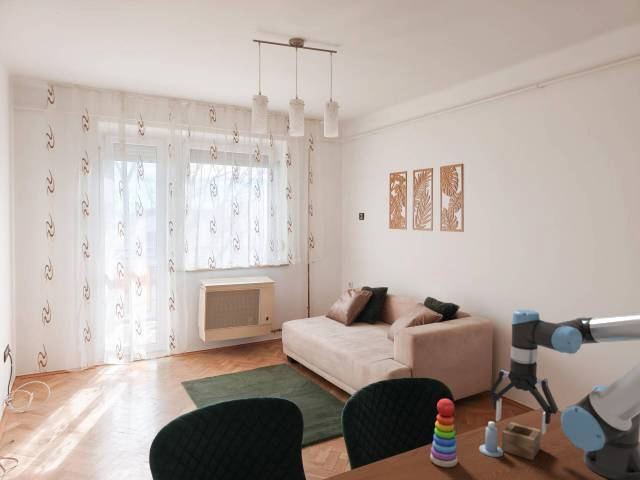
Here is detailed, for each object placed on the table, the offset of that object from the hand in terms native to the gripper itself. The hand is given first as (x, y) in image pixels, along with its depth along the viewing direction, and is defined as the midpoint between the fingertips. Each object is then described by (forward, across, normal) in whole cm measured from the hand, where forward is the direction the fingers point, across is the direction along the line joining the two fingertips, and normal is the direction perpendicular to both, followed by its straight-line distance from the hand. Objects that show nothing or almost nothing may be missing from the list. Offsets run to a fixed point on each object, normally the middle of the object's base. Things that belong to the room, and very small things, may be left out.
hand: (520, 426), depth 145 cm
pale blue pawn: (+7, +6, +7) cm, 12 cm away
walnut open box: (+7, -1, 0) cm, 7 cm away
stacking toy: (+8, +15, +22) cm, 28 cm away
